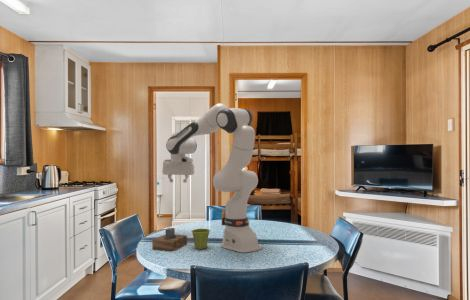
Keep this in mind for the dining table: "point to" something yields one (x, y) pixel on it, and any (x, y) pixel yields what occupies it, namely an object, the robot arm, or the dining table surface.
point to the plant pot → (200, 238)
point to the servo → (170, 233)
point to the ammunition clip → (223, 216)
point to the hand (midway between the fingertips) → (178, 182)
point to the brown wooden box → (169, 243)
